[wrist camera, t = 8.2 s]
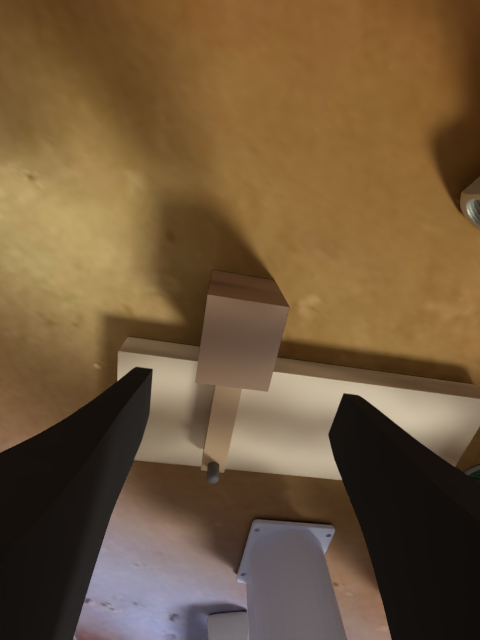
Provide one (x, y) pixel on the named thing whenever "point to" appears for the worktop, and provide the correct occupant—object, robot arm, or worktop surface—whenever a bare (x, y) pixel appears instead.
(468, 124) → the worktop surface
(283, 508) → the worktop surface
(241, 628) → the spoon rest
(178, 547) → the worktop surface
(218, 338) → the mallet
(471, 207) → the valve
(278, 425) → the board
